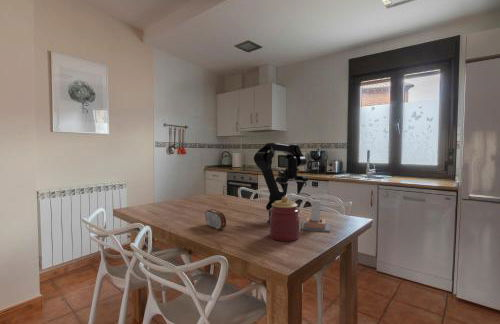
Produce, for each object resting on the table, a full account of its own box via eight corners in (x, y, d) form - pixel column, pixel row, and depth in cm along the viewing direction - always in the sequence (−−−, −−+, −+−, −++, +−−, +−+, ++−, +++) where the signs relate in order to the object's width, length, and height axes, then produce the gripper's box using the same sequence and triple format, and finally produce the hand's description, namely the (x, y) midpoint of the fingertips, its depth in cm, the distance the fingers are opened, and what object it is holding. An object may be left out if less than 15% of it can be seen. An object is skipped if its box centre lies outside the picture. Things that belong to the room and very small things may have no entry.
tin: (226, 230, 124) (226, 212, 123) (221, 231, 122) (221, 213, 121) (209, 223, 135) (209, 207, 135) (204, 225, 133) (204, 208, 133)
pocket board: (301, 230, 124) (301, 223, 124) (303, 222, 137) (303, 216, 137) (329, 232, 121) (329, 225, 121) (329, 224, 133) (329, 218, 133)
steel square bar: (311, 226, 127) (311, 200, 127) (311, 224, 131) (311, 199, 131) (319, 227, 126) (320, 201, 126) (319, 224, 130) (320, 199, 130)
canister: (283, 244, 105) (284, 200, 105) (263, 235, 116) (263, 195, 115) (305, 237, 113) (306, 197, 112) (284, 230, 123) (285, 193, 123)
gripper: (295, 165, 158) (295, 191, 159) (270, 166, 149) (270, 193, 150) (308, 166, 149) (308, 193, 149) (281, 167, 140) (281, 196, 140)
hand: (291, 194), depth 147 cm, fingers open, 9 cm apart
